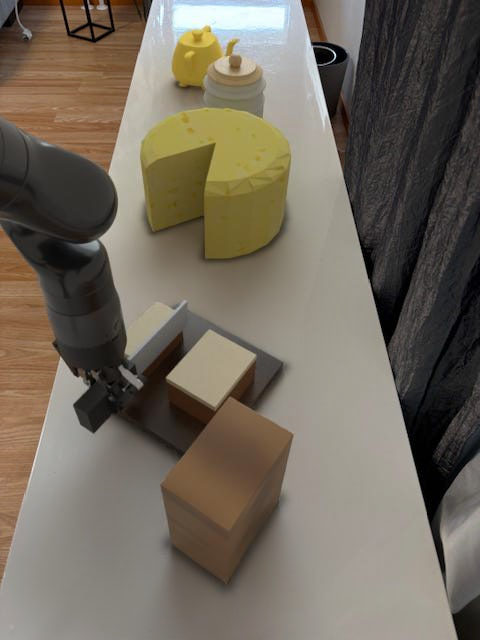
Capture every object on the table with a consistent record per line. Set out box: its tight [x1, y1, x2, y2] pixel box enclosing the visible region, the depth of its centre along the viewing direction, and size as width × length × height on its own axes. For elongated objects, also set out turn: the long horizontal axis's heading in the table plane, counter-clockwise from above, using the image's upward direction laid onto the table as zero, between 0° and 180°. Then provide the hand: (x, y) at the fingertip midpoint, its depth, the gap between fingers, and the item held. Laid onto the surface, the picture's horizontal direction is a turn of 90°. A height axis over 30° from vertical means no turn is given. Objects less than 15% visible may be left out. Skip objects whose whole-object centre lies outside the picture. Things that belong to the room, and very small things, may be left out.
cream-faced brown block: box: [166, 329, 257, 425], centre depth 77 cm, size 10×8×6 cm
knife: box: [72, 300, 189, 435], centre depth 75 cm, size 22×2×5 cm, turn 147°
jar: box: [203, 52, 267, 118], centre depth 117 cm, size 13×13×18 cm
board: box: [117, 304, 284, 457], centre depth 82 cm, size 20×20×2 cm
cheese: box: [139, 107, 292, 260], centre depth 101 cm, size 26×26×15 cm
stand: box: [159, 397, 295, 584], centre depth 62 cm, size 12×8×18 cm, turn 147°
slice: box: [124, 300, 183, 378], centre depth 81 cm, size 10×4×6 cm, turn 147°
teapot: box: [171, 24, 241, 91], centre depth 133 cm, size 14×14×12 cm
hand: (110, 402), depth 73 cm, fingers closed on knife, 2 cm apart
